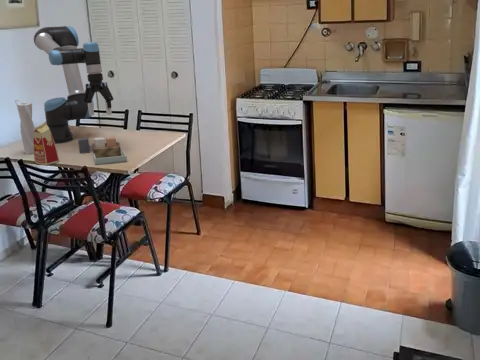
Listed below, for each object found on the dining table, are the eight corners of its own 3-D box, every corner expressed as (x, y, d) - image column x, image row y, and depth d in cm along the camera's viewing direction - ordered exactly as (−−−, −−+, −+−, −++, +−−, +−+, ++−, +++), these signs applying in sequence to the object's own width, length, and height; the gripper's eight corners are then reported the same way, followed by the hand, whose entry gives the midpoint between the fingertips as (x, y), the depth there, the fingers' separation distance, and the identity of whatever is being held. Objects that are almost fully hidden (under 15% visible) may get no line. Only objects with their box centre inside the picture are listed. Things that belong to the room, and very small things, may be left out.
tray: (95, 164, 271) (94, 158, 270) (93, 159, 280) (93, 153, 279) (126, 161, 276) (126, 155, 275) (124, 156, 285) (123, 150, 284)
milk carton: (48, 158, 282) (43, 119, 276) (60, 161, 278) (55, 121, 271) (32, 163, 275) (27, 123, 269) (44, 166, 270) (39, 125, 264)
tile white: (96, 147, 282) (95, 140, 281) (95, 145, 286) (94, 138, 285) (105, 146, 284) (104, 139, 282) (104, 144, 288) (103, 137, 286)
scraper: (79, 153, 291) (78, 140, 289) (79, 151, 295) (78, 138, 293) (120, 149, 297) (119, 136, 295) (119, 147, 301) (118, 135, 299)
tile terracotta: (107, 147, 283) (106, 139, 282) (106, 144, 287) (105, 137, 286) (116, 146, 285) (115, 138, 283) (115, 144, 289) (114, 136, 287)
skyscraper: (22, 155, 289) (15, 101, 280) (21, 151, 296) (14, 98, 287) (38, 153, 292) (31, 99, 283) (37, 149, 299) (30, 97, 290)
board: (94, 159, 280) (93, 149, 279) (93, 153, 290) (92, 144, 289) (121, 156, 284) (120, 147, 283) (118, 151, 294) (117, 142, 293)
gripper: (73, 75, 291) (79, 116, 295) (105, 72, 276) (111, 115, 281) (84, 74, 297) (90, 114, 301) (116, 71, 282) (122, 113, 286)
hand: (100, 115), depth 291 cm, fingers open, 13 cm apart
